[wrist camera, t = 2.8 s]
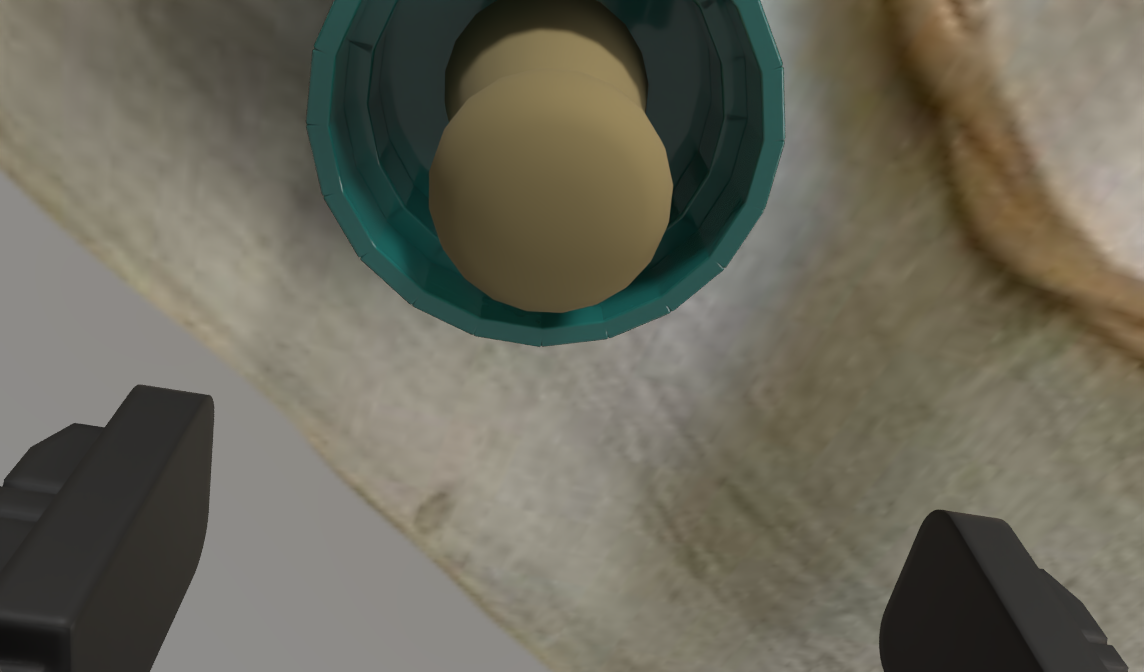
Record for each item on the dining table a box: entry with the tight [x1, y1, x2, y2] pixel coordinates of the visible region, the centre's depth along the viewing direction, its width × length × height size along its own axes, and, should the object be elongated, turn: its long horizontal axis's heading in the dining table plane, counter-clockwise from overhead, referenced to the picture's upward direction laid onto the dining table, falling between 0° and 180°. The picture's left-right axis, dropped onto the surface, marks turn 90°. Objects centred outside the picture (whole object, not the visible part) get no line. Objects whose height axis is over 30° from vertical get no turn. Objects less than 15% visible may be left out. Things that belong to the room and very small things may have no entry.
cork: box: [429, 0, 673, 313], centre depth 25 cm, size 6×6×11 cm
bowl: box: [306, 0, 785, 347], centre depth 29 cm, size 12×12×5 cm
